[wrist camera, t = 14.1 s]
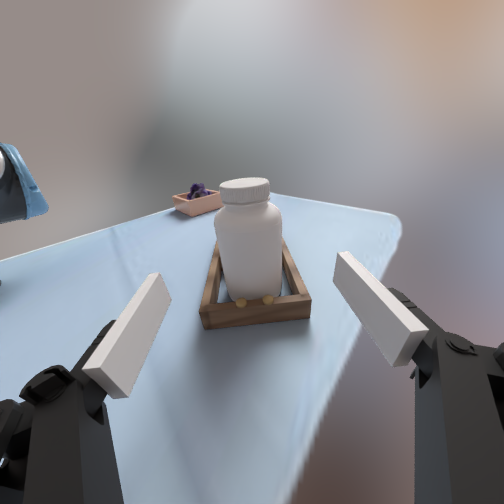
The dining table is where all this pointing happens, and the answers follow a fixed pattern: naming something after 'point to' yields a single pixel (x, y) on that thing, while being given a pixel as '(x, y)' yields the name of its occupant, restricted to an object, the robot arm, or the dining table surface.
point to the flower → (198, 191)
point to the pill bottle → (249, 239)
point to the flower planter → (197, 203)
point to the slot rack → (257, 308)
